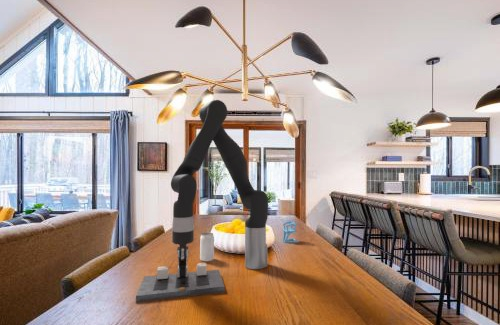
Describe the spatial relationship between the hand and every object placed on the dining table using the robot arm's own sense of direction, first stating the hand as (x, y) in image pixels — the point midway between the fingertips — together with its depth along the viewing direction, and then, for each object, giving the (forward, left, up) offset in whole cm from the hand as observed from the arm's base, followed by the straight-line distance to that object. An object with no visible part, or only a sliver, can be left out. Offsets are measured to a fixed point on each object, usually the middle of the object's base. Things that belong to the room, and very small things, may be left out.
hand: (182, 277), depth 92 cm
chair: (-62, -48, -3) cm, 79 cm away
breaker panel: (0, +1, -3) cm, 3 cm away
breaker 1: (+7, -3, -1) cm, 8 cm away
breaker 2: (-7, -3, -1) cm, 8 cm away
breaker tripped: (0, -3, -1) cm, 3 cm away
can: (-11, -27, -3) cm, 30 cm away
